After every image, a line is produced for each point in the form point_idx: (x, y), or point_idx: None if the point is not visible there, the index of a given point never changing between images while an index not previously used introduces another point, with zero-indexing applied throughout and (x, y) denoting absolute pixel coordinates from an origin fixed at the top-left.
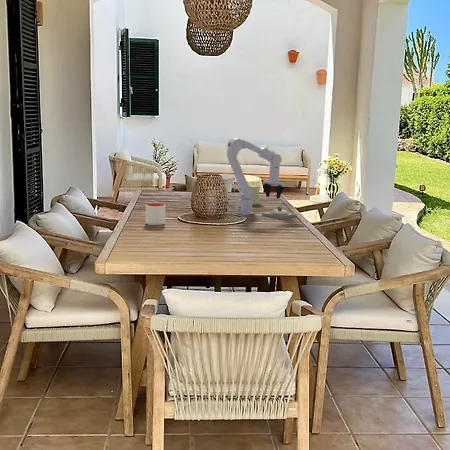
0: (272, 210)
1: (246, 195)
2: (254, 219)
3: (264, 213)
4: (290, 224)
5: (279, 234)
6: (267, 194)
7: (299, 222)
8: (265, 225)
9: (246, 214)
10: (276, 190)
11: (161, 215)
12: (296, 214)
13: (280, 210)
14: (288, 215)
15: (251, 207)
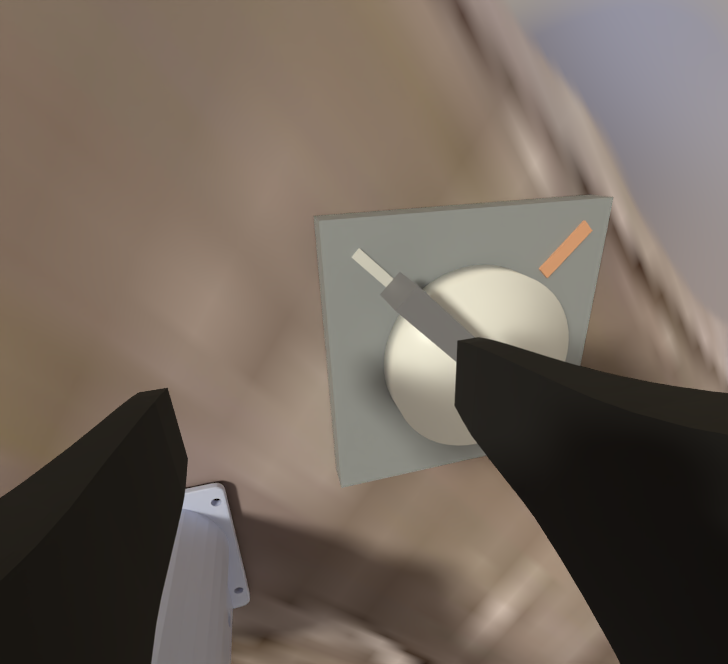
0: (425, 428)
1: None
2: (419, 594)
3: (370, 480)
4: None
5: None
6: (174, 493)
7: (697, 386)
8: (572, 612)
9: (247, 583)
10: (580, 585)
11: None
12: (608, 197)
13: None
14: (583, 344)
15: (217, 587)
